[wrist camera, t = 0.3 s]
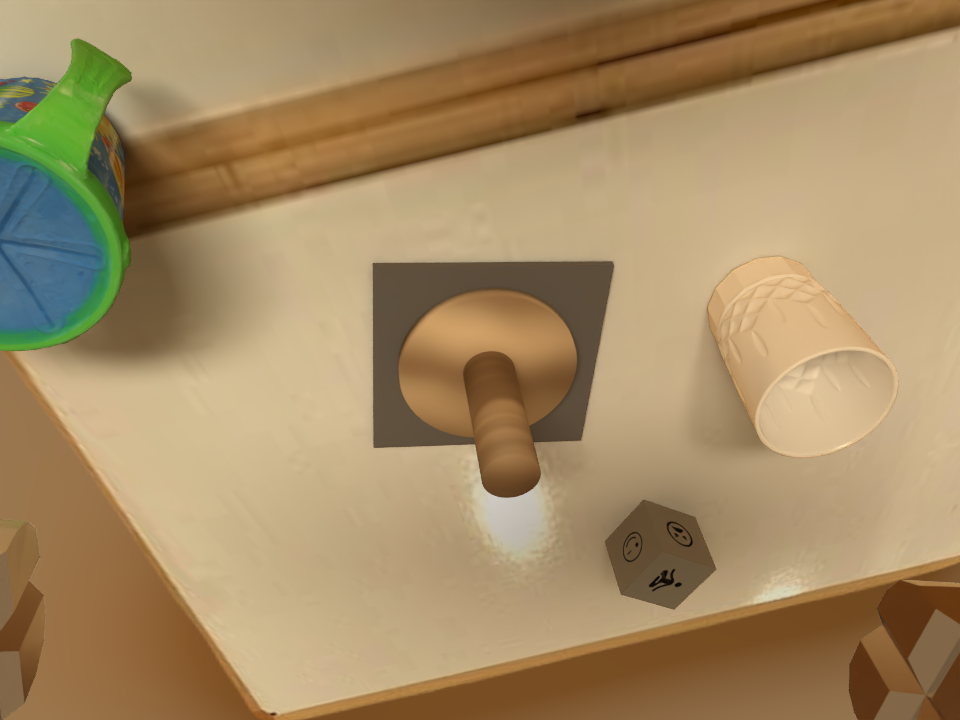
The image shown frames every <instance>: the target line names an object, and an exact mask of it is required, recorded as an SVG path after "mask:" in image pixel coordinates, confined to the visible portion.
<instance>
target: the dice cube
mask: <svg viewBox="0 0 960 720" xmlns="http://www.w3.org/2000/svg"><path fill="white" fill-rule="evenodd" d="M605 543H606V547H607V550H608V553H609V556H610V560H611V563H612V566H613V570H614V573H615V576H616V580H617V583H618V586H619V590H620V593H621V595H625V596H628V597H632V598H635V599H639V600H642V601H646V602H649V603H653V604H656V605H660V606H663V607H667V608H670V609H675V608H676V607H677V606H678V605H680V604H681V603H682V602H683V601H684V600H685V599H686V598H687V597H688V596H689V595H690V594H691V593H692V592H693V591H694V590H695V589H696V588H697V587H698V586H699V585H700V584H701V583H702V582H704V581H705V580H706V579H707V578H708V577H709V576H710V575H711V574H712V573H713V572H714V571H715V570H716V567H715V564H714V562H713V560H712V557H711V555H710V552H709V550H708V547H707V545H706V543H705V540H704V538H703V535H702V533H701V531H700V528H699V526H698V523H697V521H696V518H695V517H693V516H690V515H687V514H684V513H681V512H678V511H675V510H672V509H669V508H666V507H663V506H660V505H658V504H655V503H652V502H649V501H646V500H643V501H642V502H641V503H640V504H639V505H638V506H637V507H636V508H635V510H634V511H633V512H632V513H631V514H630V515H629V516H628V517H627V518H626V519H625V520H624V521H623V523H622V524H621V525H620V526H619V527H618V528H617V529H616V530H615V531H614V532H613V533H612V535H611V536H610V537H609V538H608V539H607V540H606V541H605Z"/></svg>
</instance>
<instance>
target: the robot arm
mask: <svg viewBox="0 0 960 720" xmlns="http://www.w3.org/2000/svg"><path fill="white" fill-rule="evenodd" d="M39 558H40V553H39V546H38V539H37V532H36V528H35V527H34V526H33V525H32V524H30V523H29V522H26V521H16V520H4V519H0V720H3V719H4V718H6V717H7V716H8V715H10V714H11V713H12V712H14V711H15V710H16V709H18V708H19V707H20V706H22V705H23V704H24V703H25V701H26V698H27V696H28V693H29V691H30V688H31V686H32V683H33V681H34V678H35V676H36V672H37V668H38V664H39V659H40V655H41V651H42V647H43V642H44V630H45V605H44V595H43V594H42V593H41V592H40V591H39V590H38V589H37V588H36V587H35V586H34V585H33V584H32V583H31V582H30V581H29V579H30V577H31V575H32V573H33V571H34V568H35V567H36V564H37V562H38V560H39ZM877 610H878V613H879V616H880V619H881V622H882V625H881V626H880V627H878V628H877V629H876V630H874V631H873V632H871V633H870V634H868V635H867V636H865V637H864V638H863V639H861V640H860V642H859V644H858V646H857V649H856V651H855V653H854V656H853V658H852V660H851V662H850V665H849V694H850V698H851V702H852V706H853V710H854V713H855V715H856V717H857V719H858V720H960V583H947V582H929V581H912V580H899V581H898V582H896V583H895V584H894V585H892V586H891V587H890V588H888V589H887V590H886V592H885V594H884V596H883V597H882V599H881V601H880V603H879V605H878V607H877Z"/></svg>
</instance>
